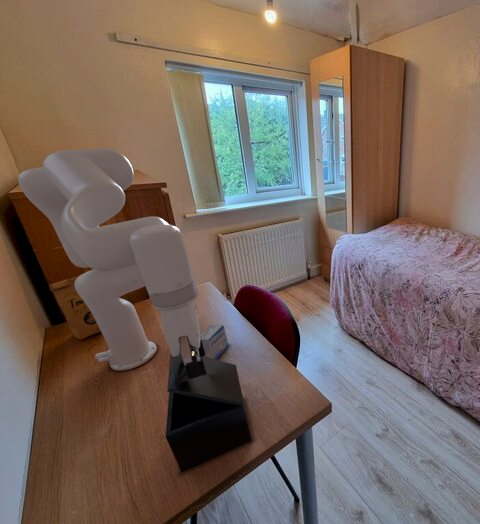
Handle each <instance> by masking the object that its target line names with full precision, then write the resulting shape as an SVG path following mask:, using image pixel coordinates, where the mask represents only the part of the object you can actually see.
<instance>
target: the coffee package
mask: <svg viewBox="0 0 480 524" xmlns="http://www.w3.org/2000/svg"><path fill="white" fill-rule="evenodd" d="M79 276H80V275H77V276H74V277H71V278H67V279H63V280H61V281H57V282H55V283H52V284H49V285H48V286H49V290H50V291H51V292H53V295H54V296H55V300H56V302H57V304H58V306H59V307H60V309H61V310H62V313H63V315H64V317H65V320H66V322H67V325H68V328H69V330H70V332H71V333H72V336H73V337H75V338H77V340H84V339H86V338H88V337H90V336H93V335H95V334H98V333H101V331H100V328H99V326H98V324H97V322H96V320H95V318H94V316H93V314H92V313H91V311H90V309H89V308H88V306H87V305H86V303H85V302H84V301H83V299H82V298H81V297H80V296H79V294H78V293H77V291H76V289H75V286H74V283H75V280H76V279H77V278H78V277H79Z"/></svg>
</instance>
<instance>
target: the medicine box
mask: <svg viewBox="0 0 480 524" xmlns="http://www.w3.org/2000/svg"><path fill="white" fill-rule="evenodd" d="M200 340H202V344H203V347H204V350H205V357H209V358H213V359H216V360H218V359H219V358H220V356H221V355H222V354H223V353H224V352H225V350H226V349H227V348H228V347H229V342H228V337H227V334H226V329H225V326H224V325H223V324H217V323H212V324H211V325H210V326H209V327H207V328H206V329H205V330H204V331H203V332H202V333H200Z"/></svg>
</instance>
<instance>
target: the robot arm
mask: <svg viewBox="0 0 480 524" xmlns="http://www.w3.org/2000/svg"><path fill="white" fill-rule="evenodd" d="M134 178H135V172H134V169H133V166H132V164H131V162H130V161H129V159H128V158H127V157H126V156H125V155H124V154H123V153H122V152H120V151H118V150H116V149H113V148H108V147H107V148H105V147H104V148H102V147H101V148H82V149H66V150H65V149H64V150H58V151H54V152H53V153H50V154H49V155H47V156H46V157H45V159H43V163H42V167H41V166H40V167H34V168H28V169H26V170H24V171H22V172H20V173H19V174H18V176H17V182H18V185H19V187H20V189H21V191H22V192H23V194H24V196H25V197H26V198H27V199H28V200H29V201H30V203H31V204H33V205H34V206H35V208H37V209H38V210H39V211H40V212H41V213H43V214H44V216H45V217H46V218H47V219H48V220H49V221H50V223H51V225H52V227H53V229H54V231H55V233H56V235H57V237H58V239H59V242H60V243H61V246H62V247H63V249H64V252H65V254H66V256H67V257H68V259H69V260H70V262H71V263H72V264H73V265H74V266H76V267H78V268H82V269H83V268H90V269H91V270H88V271H85V272H84V273H82V274H80V275H78V276H79V277H78V278H77V279H76V280H75V283H74V286H75V289H76V291H77V293H78V294H79V296H80V297H81V298H82V299H83V301H84V302H85V303H86V305H87V306H88V308H89V309H90V311H91V313H92V314H93V316H94V318H95V320H96V322H97V324H98V326H99V328H100V331H101V332H100V333H101V335H102V337H103V339H104V341H105V343H106V345H107V347H108V350H107V351H103V352H99V353H96V354H95V355H94V357H95V360H96V361H98V363H99V364H103V363H105V362H108V364H109V367H110V369H112V370H113V371H117V372H118V371H128V370H131V369H135V368H138V367H139V366H141V365H143V364H145V363H146V362H148V361H149V360H151V359H152V358H153V357H154V355H155V354H156V352H157V350H158V348H157V345H156V343H155V342H153V341H150V340H148V338H147V335H146V333H145V330H144V328H143V326H142V323H141V320H140V317H139V315H138V312H137V311H136V307H135V305H133V304H132V302H130V301H129V300H126V299H124V298H121V297H122V296H125V295H126V294H129V293H131V292H134V291H136V290H137V291H138V290H139V289H142V288H144V287H145V289H146V292H147V294H148V297H149V300H150V303H151V305H152V307H153V309H156V310H159V315H160V319H161V324H162V328H163V333H164V336H165V339H166V342H167V346H168V349H169V352H170V356H171V355H172V356H173V357H176V356H178V355H179V351H180V350H181V354H182V358H183V362H184V366H185V369H186V372H187V375H188V378H189V379H193V378H196V377H199V376H202V375H205V374H206V369H205V365H204V362H203V359H202V358H200V357H203V356H205V350H204V347H203V344H202V340H200V335H201V327H200V325H201V324H200V320H199V315H198V311H197V306H196V304H195V300H196V299H197V298H198V296H199V291H198V286H197V284H196V280H195V278H194V273H193V270H192V266H191V263H190V259H189V256H188V252H187V248H186V245H185V241H184V237H183V235H182V234H183V233H182V231H181V230H180V228H178V226H175V225H174V224H169V223H168V222H167V221H166V220H164V219H163V218H161V217H159V216H153V215H152V216H144V217H139V218H135V219H131V220H126V221H121V222H117V223H111V224H107V225H102V224H104V223H105V222H107V221H109V220H110V219H111V218H113V217H115V216H116V215H117V214H118V213H120V212H121V211H122V209H123V208H124V206H125V205H126V204H125V203H126V194H125V192H124V191H126V190H127V189H128V188H129V187H131V185H132V184H133V183H134ZM100 225H102V226H100ZM190 345H192V347H190ZM192 351H195V355H196V356H195V355H194V356H192V354H191V352H192Z"/></svg>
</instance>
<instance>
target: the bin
mask: <svg viewBox="0 0 480 524" xmlns="http://www.w3.org/2000/svg"><path fill="white" fill-rule="evenodd" d="M240 388H241V386H240ZM241 389H242V388H241ZM241 393H242V398H243V404H242V406H240V405H235V404H229V403H224V402H219V401H213V400H208V399H203V398H197V397H192V396H187V395H181V394H176V393H171V392H168V402H167V414H166V425H165V426H166V427H165V435H164V436H165V439H166V441H167V444H168V446H169V448H170V450H171V452H172V454H173V457H174V459H175V461H176V464H177V466H178V468H179V471H180V472H181V474H182V473H184V472H186V471H189V470H191V469H194V468H196V467H197V466H200V465H202V464H205V463H206V462H209V461H211V460H213V459H215V458H218V457H220V456H222V455H224V454H227V453H229V452H231V451H233V450H236V449H237V448H240V447H242V446H245V445H246V444H250V443H251V442H252V441H253V440H252V435H251V434H252V433H251V429H250V424H249V419H248V414H247V410H246V404H245V400H244V395H243V391H242V390H241Z"/></svg>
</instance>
